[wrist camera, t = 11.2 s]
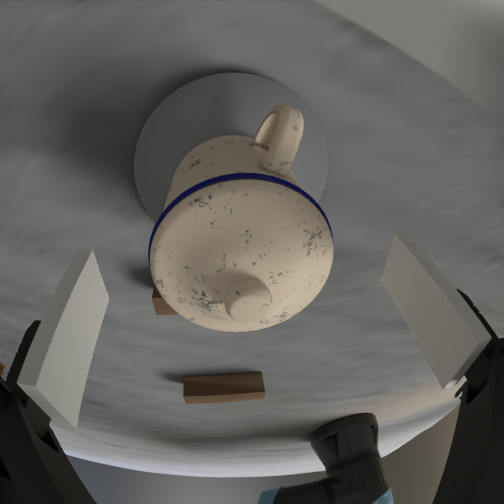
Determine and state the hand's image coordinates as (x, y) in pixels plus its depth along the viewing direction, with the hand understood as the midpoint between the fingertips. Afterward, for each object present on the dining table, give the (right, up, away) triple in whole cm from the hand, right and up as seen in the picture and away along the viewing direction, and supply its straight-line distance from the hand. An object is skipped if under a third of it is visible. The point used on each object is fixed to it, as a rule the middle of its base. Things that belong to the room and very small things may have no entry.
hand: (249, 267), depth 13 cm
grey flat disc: (-1, +7, +9) cm, 11 cm away
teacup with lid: (-1, +6, +8) cm, 11 cm away
